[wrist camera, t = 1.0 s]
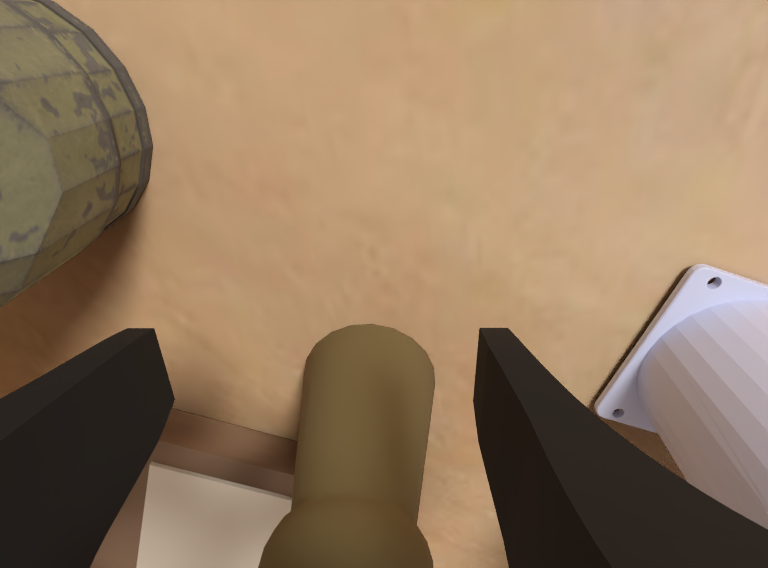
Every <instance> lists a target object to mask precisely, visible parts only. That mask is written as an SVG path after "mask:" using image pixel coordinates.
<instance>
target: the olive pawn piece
mask: <svg viewBox="0 0 768 568" xmlns="http://www.w3.org/2000/svg"><path fill="white" fill-rule="evenodd" d="M434 388H435V377H434V367H433V365H432V363H431V361H430V359H429V357H428V355H427V353H426V351H425V350H424V349H423V348H422V347H421V346H420V345H419V344H418V343H417V342H416V341H415V340H414V339H413V338H411V337H409V336H407V335H405V334H403V333H401V332H399V331H397V330H395V329H393V328H389V327H384V326H379V325H374V324H366V325H351V326H348V327H345V328H342V329H339V330H336V331H334V332H331V333H330V334H328V335H327V336H326V337H324V338H323V339H322V340H321V341H319V342H318V343H317V344H316V345H315V346H314V348H313V350H312V351H311V353H310V354H309V356H308V358H307V360H306V366H305V372H304V381H303V391H302V401H301V412H300V422H299V432H298V442H297V453H296V463H295V473H294V483H293V494H292V504H291V511H290V512H289V513H288V514H286V515H285V516H284V517H283V519H282V520H281V521H280V523H279V524H278V525H277V527H276V528H275V529H274V531H273V533H272V534H271V536H270V538H269V540H268V541H267V543H266V545H265V547H264V549H263V553H262V556H261V559H260V563H259V566H258V568H433V560H432V556H431V553H430V550H429V547H428V543H427V541H426V539H425V538H424V536H423V534H422V533H421V531H420V530H419V528H418V526H417V519H418V511H419V503H420V496H421V488H422V480H423V473H424V465H425V457H426V450H427V442H428V434H429V427H430V419H431V411H432V404H433V396H434Z"/></svg>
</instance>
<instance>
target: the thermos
mask: <svg viewBox="0 0 768 568" xmlns="http://www.w3.org/2000/svg"><path fill="white" fill-rule="evenodd" d="M152 149H153V144H152V139H151V134H150V129H149V124H148V119H147V114H146V109H145V106H144V104H143V102H142V100H141V98H140V96H139V94H138V92H137V90H136V88H135V86H134V84H133V82H132V80H131V78H130V76H129V74H128V72H127V70H126V68H125V66H124V65H123V64H122V63H121V62H120V60H119V59H118V58H117V57H116V56H115V55H114V53H113V52H112V51H111V50H110V49H109V47H108V46H107V45H106V44H105V43H104V42H103V40H102V39H101V38H100V37H99V36H98V35H97V33H96V32H95V31H94V30H93V29H91V28H90V27H89V26H87V25H86V24H84V23H83V22H82V21H80V20H79V19H78V18H76V17H75V16H73V15H72V14H71V13H69V12H68V11H66V10H65V9H64V8H62V7H61V6H59V5H58V4H57V3H55V2H54V1H51V0H0V308H1V307H2V306H4V305H5V304H7V303H8V302H9V301H11V300H12V299H14V298H15V297H17V296H18V295H20V294H21V293H22V292H24V291H25V290H27V289H28V288H30V287H31V286H33V285H34V284H35V283H37V282H38V281H40V280H41V279H43V278H44V277H46V276H47V275H48V274H50V273H51V272H53V271H54V270H56V269H57V268H59V267H60V266H61V265H63V264H64V263H66V262H67V261H69V260H70V259H72V258H73V257H74V256H76V255H77V254H78V253H80V252H81V251H82V250H83V249H85V248H86V247H87V246H88V245H89V244H91V243H92V242H93V241H94V240H96V239H97V238H98V237H99V236H101V234H102V232H103V231H104V230H106V229H107V228H109V227H110V226H112V225H113V224H114V223H115V222H117V221H118V220H119V219H120V218H122V217H123V216H124V215H125V214H127V213H128V212H129V211H130V210H132V209H133V208H134V207H135V205H136V204H137V202H138V200H139V198H140V196H141V194H142V192H143V190H144V188H145V186H146V185H147V183H148V181H149V175H150V166H151V157H152Z"/></svg>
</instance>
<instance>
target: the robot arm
mask: <svg viewBox="0 0 768 568" xmlns="http://www.w3.org/2000/svg"><path fill="white" fill-rule="evenodd" d="M714 277H716V279H715V281H714V282H713V283H711V284H707V283H708V281H709V280H710V279H711V278H714ZM174 400H175V398H174V395H173V391H172V388H171V385H170V381H169V378H168V374H167V371H166V367H165V364H164V360H163V357H162V354H161V350H160V347H159V343H158V340H157V336H156V333H155V330H154V328H127V329H125V330H123V331H121V332H119V333H117V334H115V335H113V336H111V337H109V338H107V339H105V340H103V341H102V342H100V343H98V344H96V345H95V346H93V347H91V348H89V349H88V350H86V351H84V352H82V353H81V354H79V355H77V356H75V357H74V358H72V359H70V360H69V361H67V362H65V363H63V364H62V365H60V366H58V367H56V368H55V369H53V370H51V371H50V372H48V373H46V374H44V375H43V376H41V377H39V378H38V379H36V380H34V381H32V382H30V383H29V384H27V385H25V386H23V387H21V388H19V389H18V390H16V391H14V392H12V393H10V394H8V395H7V396H5V397H3V398H1V399H0V568H90V567H91V565H92V562H93V560H94V558H95V556H96V554H97V552H98V550H99V548H100V546H101V544H102V542H103V540H104V538H105V536H106V534H107V532H108V531H109V529H110V527H111V525H112V524H113V522H114V520H115V518H116V517H117V515H118V513H119V511H120V509H121V508H122V506H123V504H124V502H125V501H126V499H127V497H128V495H129V493H130V492H131V490H132V488H133V486H134V485H135V483H136V481H137V479H138V478H139V476H140V474H141V472H142V470H143V469H144V467H145V465H146V463H147V461H148V460H149V458H150V456H151V454H152V452H153V450H154V449H155V447H156V445H157V443H158V441H159V439H160V437H161V434H162V432H163V429H164V427H165V424H166V422H167V419H168V417H169V414H170V411H171V408H172V406H173V403H174ZM473 402H474V411H475V419H476V427H477V434H478V441H479V446H480V450H481V454H482V458H483V462H484V466H485V470H486V474H487V478H488V482H489V486H490V490H491V494H492V497H493V501H494V505H495V509H496V513H497V517H498V521H499V525H500V529H501V533H502V537H503V541H504V545H505V550H506V555H507V560H508V565H509V568H768V285H766V284H763V283H760V282H757V281H754V280H751V279H748V278H745V277H742V276H739V275H736V274H733V273H730V272H727V271H724V270H722V269H719V268H716V267H713V266H710V265H707V264H697V265H694V266H693V267H691V268H690V269H689V270H688V271H687V272H686V273H685V275H684V276H683V278H682V279H681V280H680V282H679V283H678V285H677V286H676V288H675V289H674V290H673V292H672V293H671V295H670V296H669V298H668V299H667V300H666V302H665V303H664V305H663V306H662V308H661V309H660V311H659V312H658V313H657V315H656V316H655V318H654V319H653V321H652V322H651V323H650V325H649V326H648V328H647V329H646V331H645V332H644V333H643V335H642V336H641V338H640V339H639V341H638V342H637V343H636V345H635V346H634V348H633V349H632V351H631V352H630V353H629V355H628V356H627V358H626V359H625V361H624V362H623V363H622V365H621V366H620V368H619V369H618V371H617V372H616V374H615V375H614V376H613V378H612V379H611V381H610V382H609V384H608V385H607V386H606V388H605V389H604V391H603V392H602V394H601V395H600V396H599V398H598V399H597V401H596V402H595V405H594V408H595V410H596V413H597V414H598V415H599V416H600V417H602V418H606V419H609V420H613V421H616V422H619V423H623V424H626V425H630V426H633V427H637V428H640V429H643V430H647V431H650V432H654V433H657V434H659V436H660V438H661V439H662V441H663V443H664V444H665V446H666V448H667V449H668V451H669V452H670V454H671V456H672V457H673V459H674V461H675V462H676V464H677V466H678V467H679V469H680V471H681V472H682V474H683V476H684V477H685V479H686V480H687V482H686V481H685V480H683V479H682V478H680V477H679V476H677V475H676V474H674V473H673V472H671V471H669V470H668V469H666V468H665V467H663V466H662V465H660V464H659V463H658V462H656V461H655V460H653V459H652V458H650V457H649V456H647V455H646V454H645V453H643V452H642V451H641V450H639V449H638V448H637V447H635V446H634V445H633V444H631V443H630V442H629V441H627V440H626V439H625V438H623V437H622V436H621V435H619V434H618V433H617V432H615V431H614V430H613V429H612V428H610V427H609V426H608V425H607V424H605V423H604V422H603V421H602V420H601V419H599V418H598V417H597V416H596V415H595V414H594V413H592V412H591V411H590V410H589V409H588V408H587V407H586V406H584V405H583V404H582V403H581V402H580V401H579V400H578V399H576V398H575V397H574V396H573V395H572V394H571V393H570V392H569V391H568V390H567V389H566V388H565V387H564V386H563V385H562V384H561V383H560V382H559V381H558V380H557V379H556V378H555V377H554V376H553V375H552V374H551V373H550V372H549V371H548V370H547V369H546V368H545V367H544V366H543V365H542V364H541V363H540V362H539V361H538V360H537V359H536V358H535V357H534V355H533V354H532V353H531V352H530V351H529V350H528V349H527V348H526V347H525V346H524V345H523V344H522V342H521V341H520V340H519V339H518V338H517V337H516V336H515V335H514V334H513V333H512V332H511V331H510V330H509V329H508V328H480V329H479V340H478V352H477V363H476V375H475V386H474V398H473ZM616 409H619V410H618V411H615V412H613V411H614V410H616Z"/></svg>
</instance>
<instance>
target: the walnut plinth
mask: <svg viewBox="0 0 768 568" xmlns="http://www.w3.org/2000/svg"><path fill="white" fill-rule="evenodd" d="M296 453H297V441H293V440H289V439H285V438H281V437H278V436H274V435H270V434H266V433H263V432H259V431H255V430H251V429H248V428H244V427H240V426H236V425H233V424H229V423H225V422H221V421H218V420H214V419H210V418H206V417H203V416H199V415H195V414H191V413H187V412H184V411H180V410H176V409H172V408H171V411H170V414H169V417H168V419H167V422H166V424H165V427H164V429H163V432H162V434H161V437H160V439H159V441H158V443H157V445H156V447H155V449H154V450H153V452H152V454H151V456H150V458H149V460H148V461H147V463H146V465H145V467H144V469H143V470H142V472H141V474H140V476H139V478H138V479H137V481H136V483H135V485H134V486H133V488H132V490H131V492H130V493H129V495H128V497H127V499H126V501H125V502H124V504H123V506H122V508H121V509H120V511H119V513H118V515H117V517H116V518H115V520H114V522H113V524H112V525H111V527H110V529H109V531H108V532H107V534H106V536H105V538H104V540H103V542H102V544H101V546H100V548H99V550H98V552H97V554H96V556H95V558H94V560H93V562H92V565H91V567H90V568H258V566H259V563H260V559H261V556H262V553H263V549H264V547H265V545H266V543H267V541H268V540H269V538H270V536H271V534H272V533H273V531H274V529H275V528H276V527H277V525H278V524H279V523H280V521H281V520H282V519H283V517H284V516H285V515H286V514H288V513H289V512H290V511H291V504H292V494H293V483H294V473H295V463H296Z"/></svg>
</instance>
